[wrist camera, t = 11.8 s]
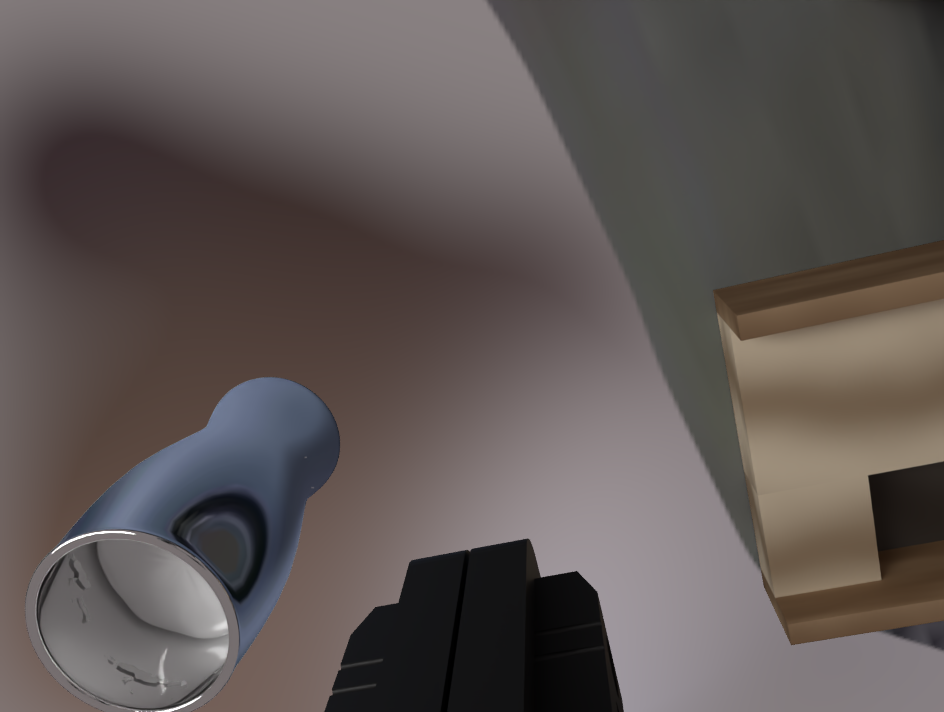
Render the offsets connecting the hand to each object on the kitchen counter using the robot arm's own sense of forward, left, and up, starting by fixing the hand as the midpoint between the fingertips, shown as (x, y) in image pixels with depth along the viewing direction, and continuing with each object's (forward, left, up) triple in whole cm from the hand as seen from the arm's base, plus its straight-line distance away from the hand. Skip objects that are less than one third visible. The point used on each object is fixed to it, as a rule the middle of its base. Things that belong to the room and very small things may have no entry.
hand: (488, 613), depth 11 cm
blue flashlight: (+6, -13, -27) cm, 31 cm away
